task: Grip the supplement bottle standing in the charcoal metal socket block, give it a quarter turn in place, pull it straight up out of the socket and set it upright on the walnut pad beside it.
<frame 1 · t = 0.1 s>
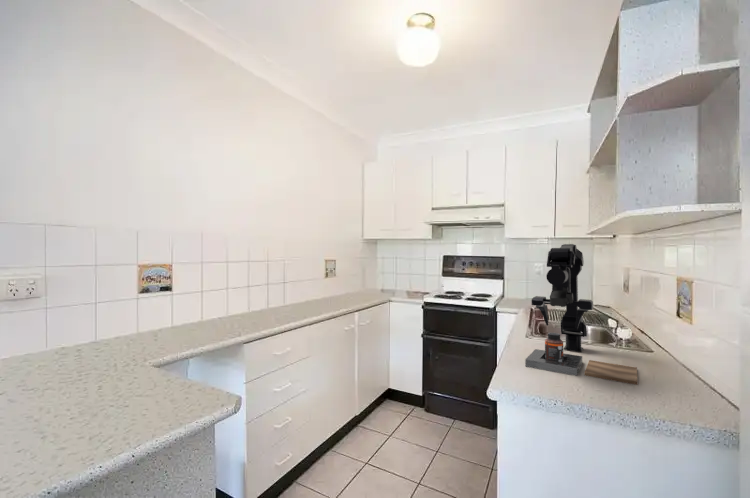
hand: (561, 327, 121), 14 cm above the worktop, tool pointing down, fingers open, 9 cm apart
supplement bottle: (554, 365, 124), resting in socket block
socket block: (554, 364, 124), on the worktop
walnut pad: (611, 372, 116), on the worktop
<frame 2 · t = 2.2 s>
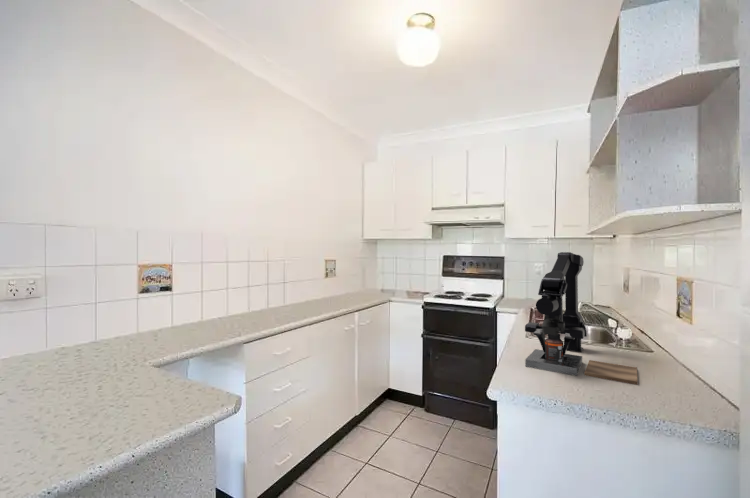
hand: (554, 353, 124), 4 cm above the worktop, tool pointing down, fingers closed on supplement bottle, 6 cm apart
supplement bottle: (554, 365, 124), resting in socket block, touching gripper
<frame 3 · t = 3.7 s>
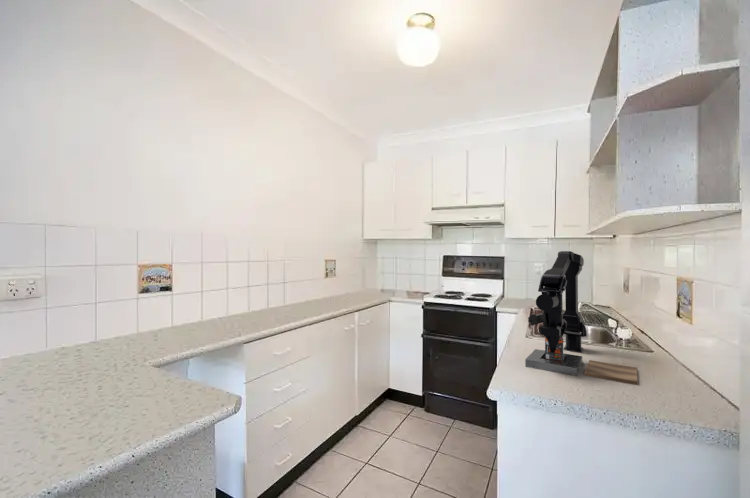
hand: (554, 350, 124), 5 cm above the worktop, tool pointing down, fingers closed on supplement bottle, 6 cm apart
supplement bottle: (554, 361, 124), point 1 cm above the worktop, touching gripper
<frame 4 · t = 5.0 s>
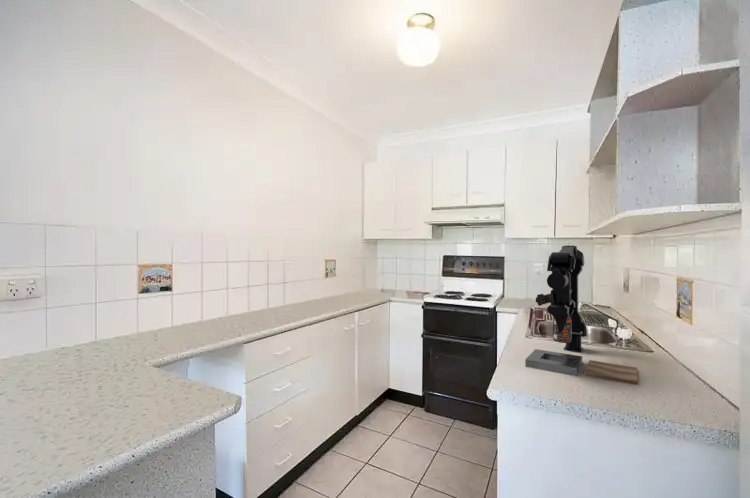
hand: (562, 330, 123), 13 cm above the worktop, tool pointing down, fingers closed on supplement bottle, 6 cm apart
supplement bottle: (562, 341, 123), point 9 cm above the worktop, touching gripper
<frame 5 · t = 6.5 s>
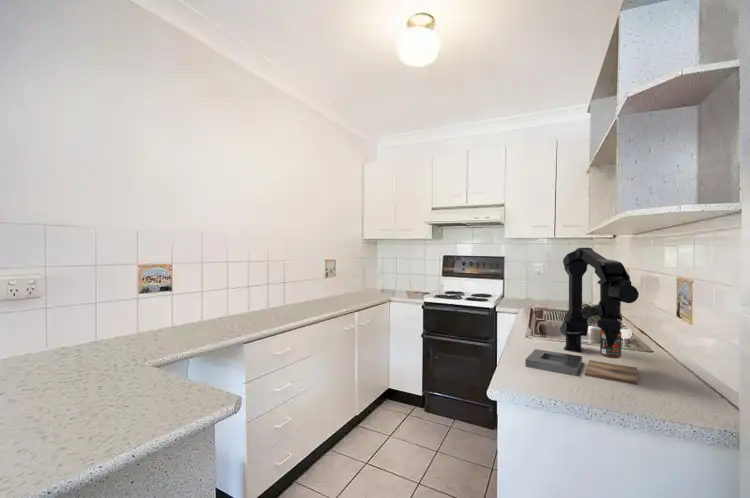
hand: (610, 344, 116), 10 cm above the worktop, tool pointing down, fingers closed on supplement bottle, 6 cm apart
supplement bottle: (610, 356, 116), point 5 cm above the worktop, touching gripper
when the fingers open (6 cm above the worktop, at t = 7.9 s): supplement bottle drops 1 cm, resting on walnut pad.
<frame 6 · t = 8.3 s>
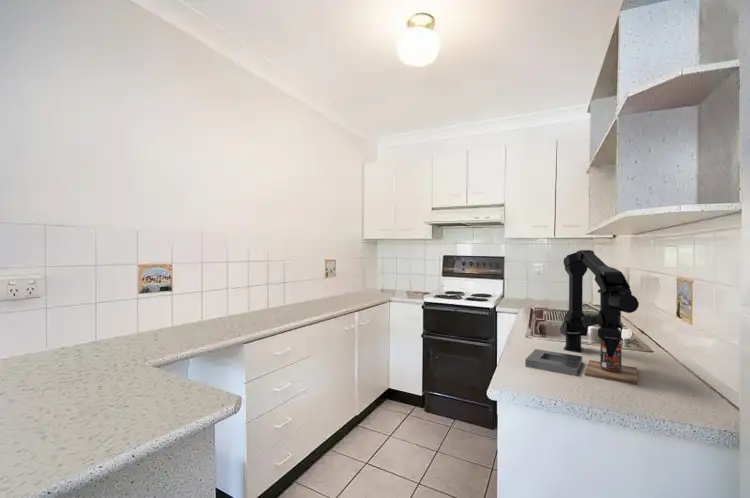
hand: (610, 353, 116), 6 cm above the worktop, tool pointing down, fingers open, 9 cm apart
supplement bottle: (611, 370, 116), point 1 cm above the worktop, touching walnut pad
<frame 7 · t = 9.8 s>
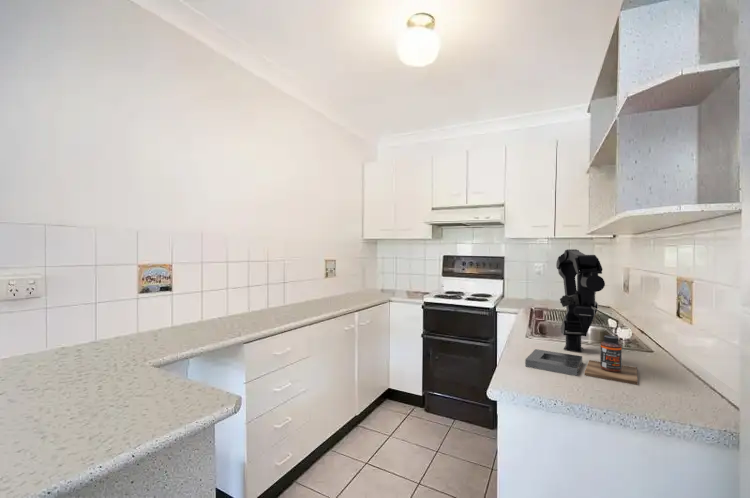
hand: (586, 330, 127), 12 cm above the worktop, tool pointing down, fingers open, 9 cm apart
nothing on the worktop moved.
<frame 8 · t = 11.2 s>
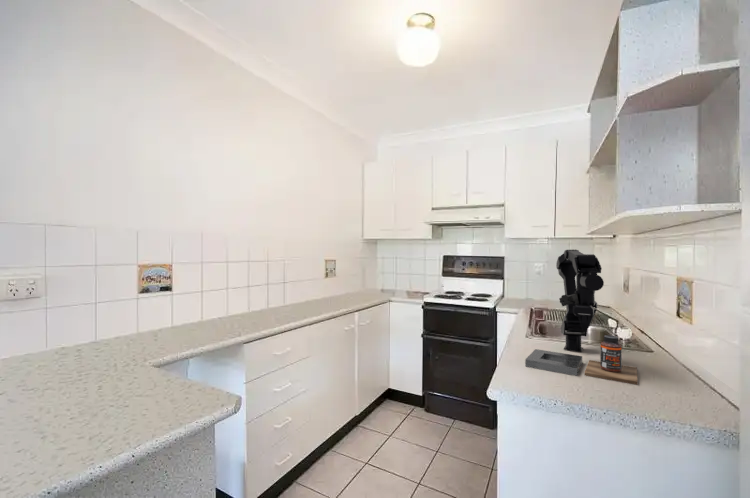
hand: (585, 329, 127), 12 cm above the worktop, tool pointing down, fingers open, 9 cm apart
nothing on the worktop moved.
at the end: supplement bottle inside the target area (0.1 cm from its centre), point 0.8 cm above the worktop; supplement bottle tilted 0°; the gripper is holding nothing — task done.
